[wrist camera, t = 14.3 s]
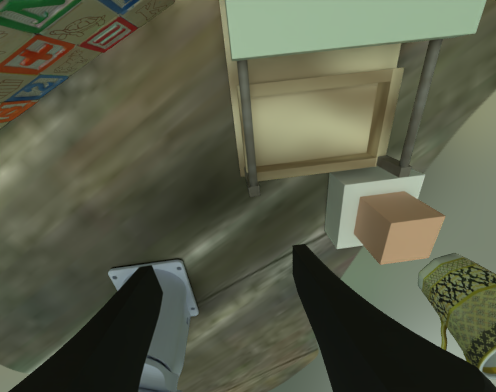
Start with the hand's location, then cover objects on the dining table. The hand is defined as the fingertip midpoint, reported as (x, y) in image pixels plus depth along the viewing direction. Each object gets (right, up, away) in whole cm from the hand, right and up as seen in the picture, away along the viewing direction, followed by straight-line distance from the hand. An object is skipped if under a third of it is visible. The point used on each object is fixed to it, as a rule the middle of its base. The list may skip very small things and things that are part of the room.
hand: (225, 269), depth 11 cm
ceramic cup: (+27, -8, +19) cm, 33 cm away
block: (+13, +2, +9) cm, 16 cm away
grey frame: (+6, +12, +6) cm, 15 cm away
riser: (+13, +3, +11) cm, 17 cm away
